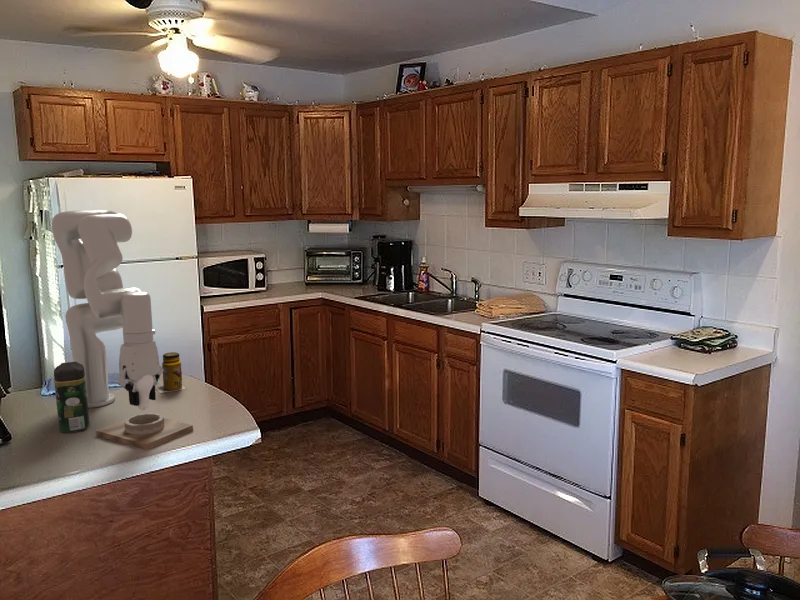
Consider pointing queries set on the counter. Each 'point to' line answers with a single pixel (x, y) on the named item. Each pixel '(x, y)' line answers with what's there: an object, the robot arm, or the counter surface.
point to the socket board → (145, 438)
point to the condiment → (171, 373)
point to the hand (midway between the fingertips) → (142, 401)
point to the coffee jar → (71, 397)
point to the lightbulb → (144, 390)
